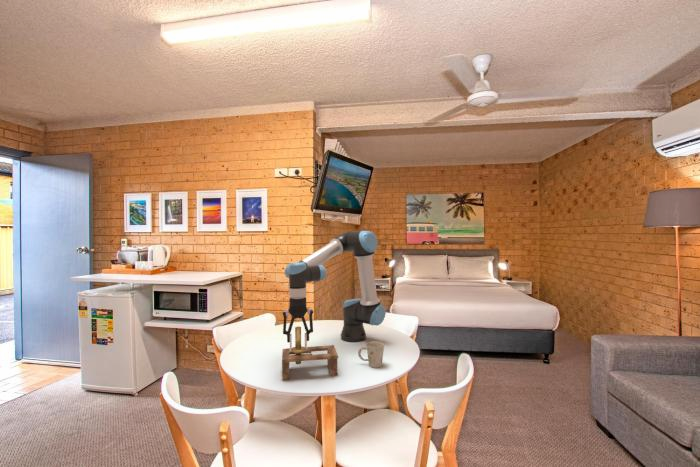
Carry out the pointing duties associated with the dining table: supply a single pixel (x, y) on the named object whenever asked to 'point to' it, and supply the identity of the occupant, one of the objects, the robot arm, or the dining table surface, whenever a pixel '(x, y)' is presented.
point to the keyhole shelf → (310, 358)
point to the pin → (298, 343)
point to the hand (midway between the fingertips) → (298, 348)
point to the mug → (373, 353)
